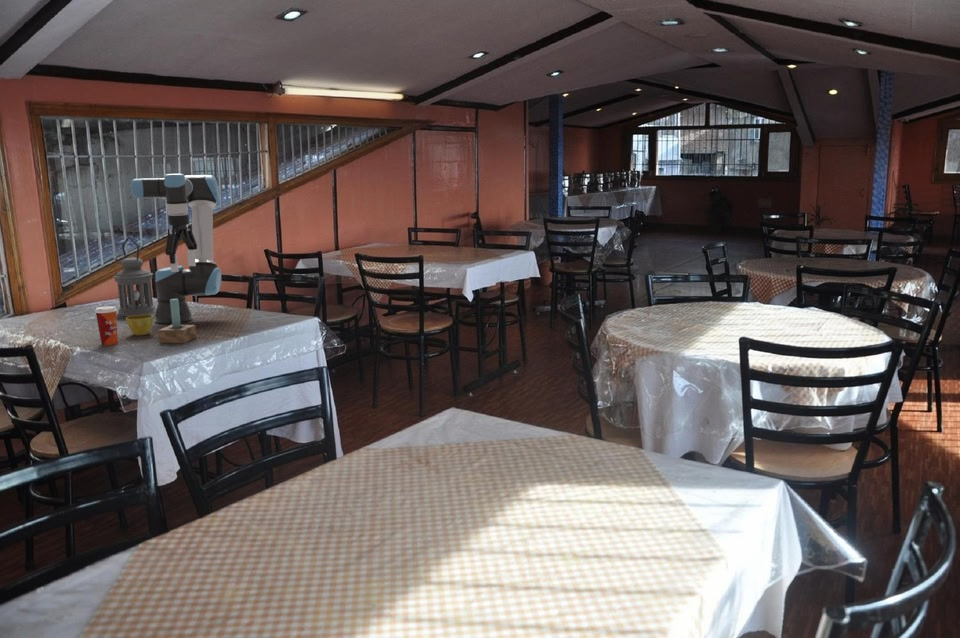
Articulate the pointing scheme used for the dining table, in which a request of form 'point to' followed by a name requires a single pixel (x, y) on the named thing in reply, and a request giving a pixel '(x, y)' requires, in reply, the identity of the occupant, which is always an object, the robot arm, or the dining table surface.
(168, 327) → the wooden block with hole
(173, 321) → the teal rectangular bar
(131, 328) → the flower pot
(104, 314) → the paper cup
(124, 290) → the lantern
